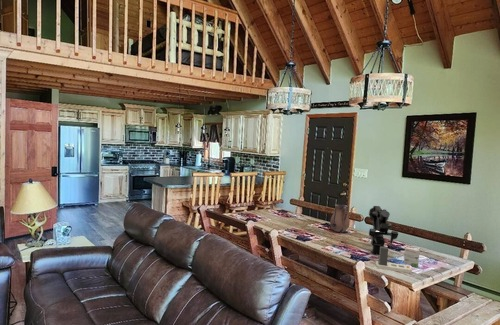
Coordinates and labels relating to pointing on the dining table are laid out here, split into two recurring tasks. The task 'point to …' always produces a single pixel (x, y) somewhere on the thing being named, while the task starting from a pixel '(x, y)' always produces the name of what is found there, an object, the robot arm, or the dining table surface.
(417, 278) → the dining table surface
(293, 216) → the dining table surface
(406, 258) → the ink box
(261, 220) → the dining table surface
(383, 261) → the charger plug
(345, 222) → the ceramic pitcher
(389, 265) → the power strip
